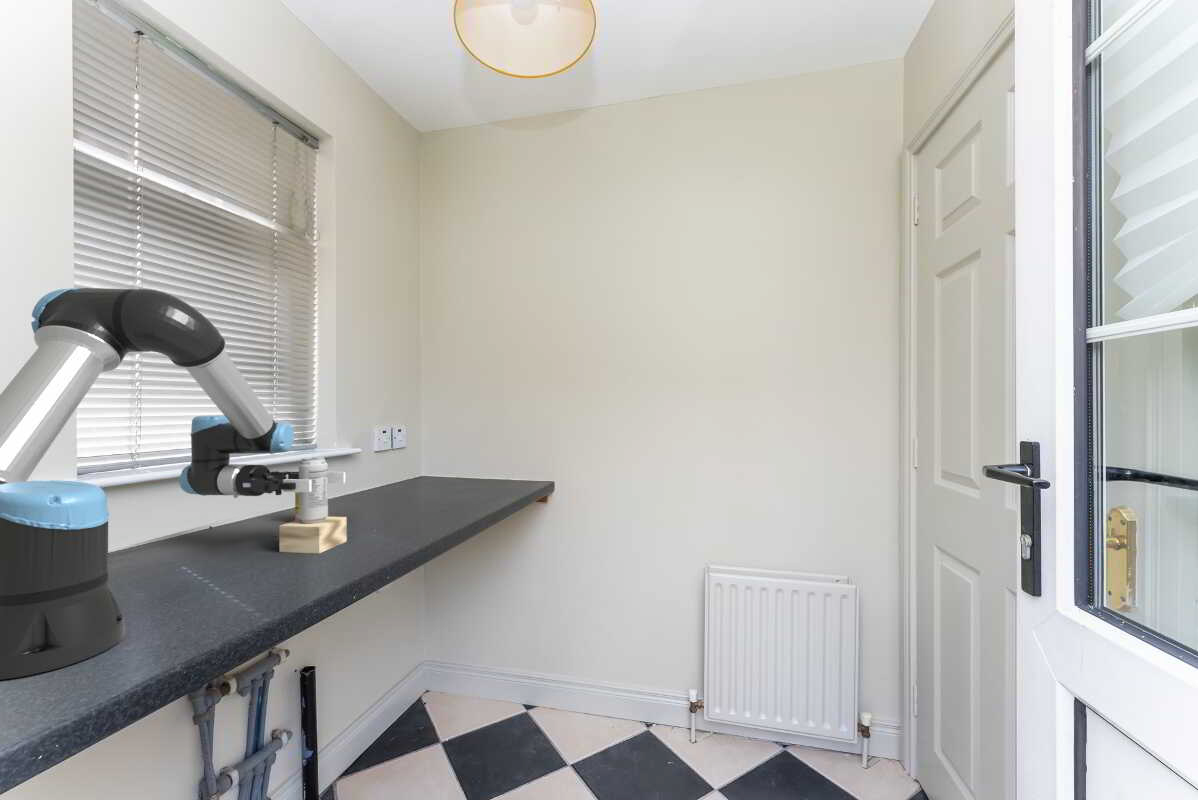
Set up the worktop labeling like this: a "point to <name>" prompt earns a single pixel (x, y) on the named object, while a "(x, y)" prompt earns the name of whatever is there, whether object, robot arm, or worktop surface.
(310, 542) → the oak block
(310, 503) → the energy drink can
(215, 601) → the worktop surface
